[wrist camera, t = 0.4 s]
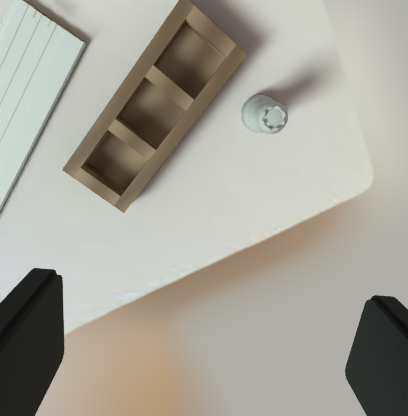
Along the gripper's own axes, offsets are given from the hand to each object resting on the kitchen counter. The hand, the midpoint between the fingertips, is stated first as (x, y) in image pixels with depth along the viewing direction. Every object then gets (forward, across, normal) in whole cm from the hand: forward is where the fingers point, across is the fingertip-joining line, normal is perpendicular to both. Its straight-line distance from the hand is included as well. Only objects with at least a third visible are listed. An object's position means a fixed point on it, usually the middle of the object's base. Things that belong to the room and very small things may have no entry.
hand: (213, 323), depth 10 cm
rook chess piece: (+33, -7, -6) cm, 35 cm away
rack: (+33, +6, -4) cm, 34 cm away
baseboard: (+34, +25, 0) cm, 42 cm away
